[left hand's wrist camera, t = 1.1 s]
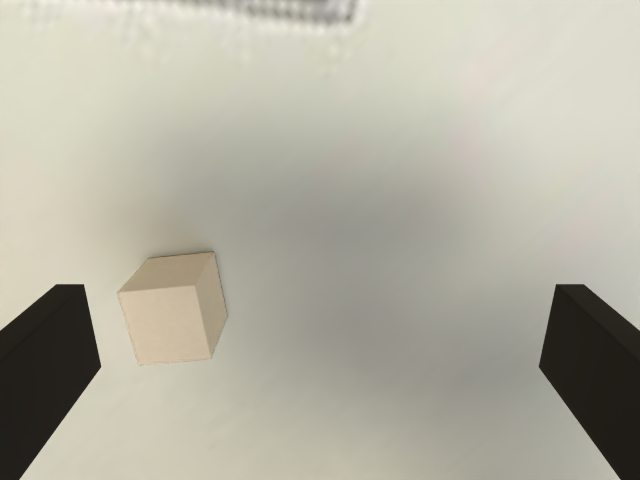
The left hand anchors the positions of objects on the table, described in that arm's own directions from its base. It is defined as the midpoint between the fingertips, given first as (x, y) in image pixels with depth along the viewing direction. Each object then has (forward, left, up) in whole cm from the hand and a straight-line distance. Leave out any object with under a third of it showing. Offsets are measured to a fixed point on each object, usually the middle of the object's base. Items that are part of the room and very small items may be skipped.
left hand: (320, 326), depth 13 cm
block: (-8, +8, -16) cm, 19 cm away
